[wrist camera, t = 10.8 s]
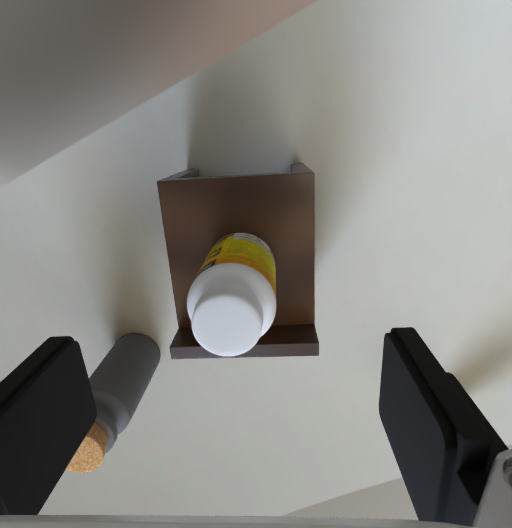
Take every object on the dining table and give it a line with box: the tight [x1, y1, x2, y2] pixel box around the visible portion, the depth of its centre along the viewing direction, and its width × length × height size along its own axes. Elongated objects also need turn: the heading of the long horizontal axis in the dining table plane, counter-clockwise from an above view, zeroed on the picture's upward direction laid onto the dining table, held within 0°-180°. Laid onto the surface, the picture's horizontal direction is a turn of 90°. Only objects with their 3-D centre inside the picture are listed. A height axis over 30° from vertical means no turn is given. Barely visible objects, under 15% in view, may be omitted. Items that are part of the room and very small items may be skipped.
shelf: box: [157, 163, 319, 359], centre depth 32 cm, size 14×12×13 cm
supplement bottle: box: [187, 233, 276, 356], centre depth 24 cm, size 6×6×10 cm
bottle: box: [66, 334, 160, 473], centre depth 37 cm, size 6×6×15 cm
